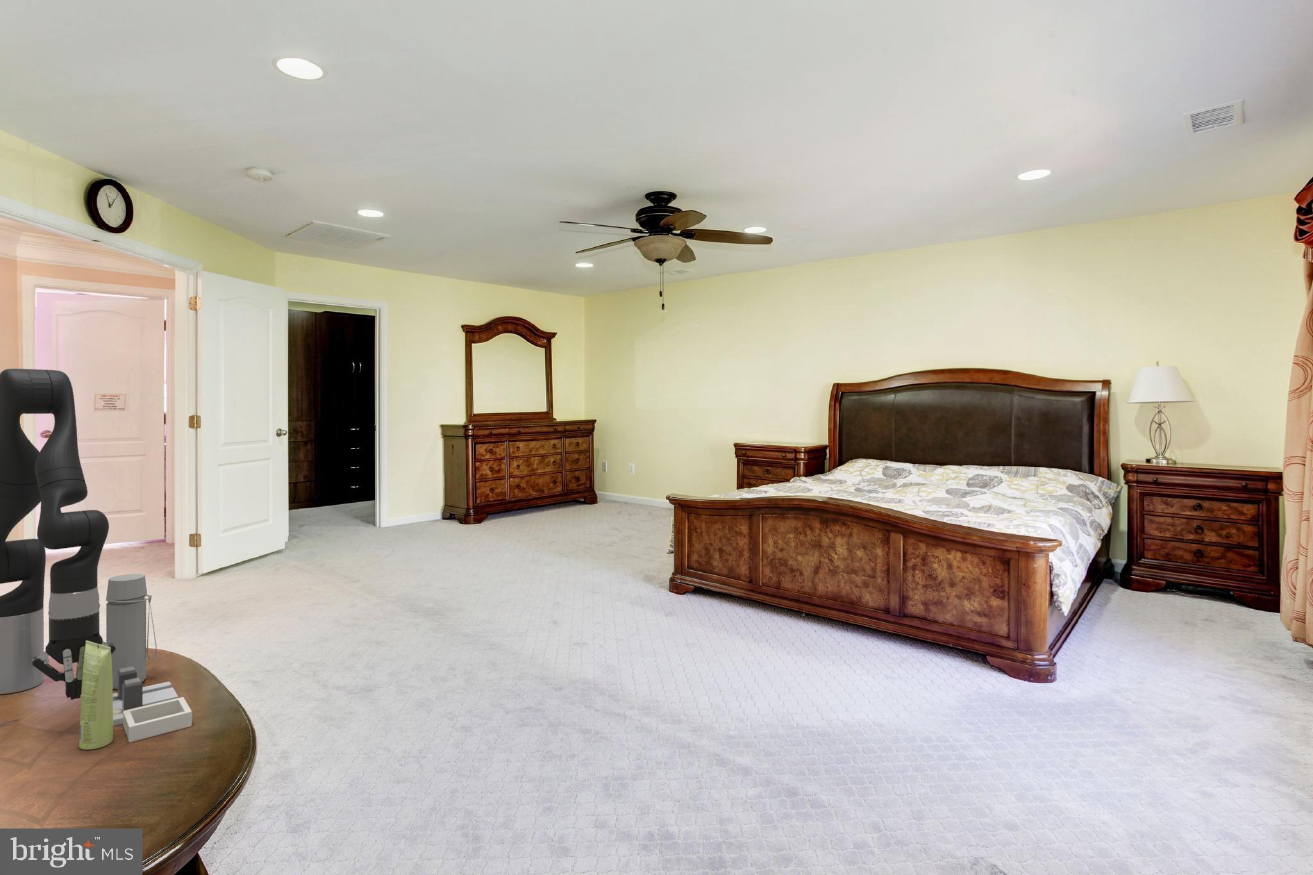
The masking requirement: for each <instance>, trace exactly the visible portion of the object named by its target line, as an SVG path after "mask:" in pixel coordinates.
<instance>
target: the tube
mask: <svg viewBox="0 0 1313 875" xmlns="http://www.w3.org/2000/svg"><path fill="white" fill-rule="evenodd" d="M113 690H114V689H113V683H112V658H111V647H107V646H103V645H100V644H96V643H93V642H90V641H86V646H85V653H84V664H83V677H82V693H81V697H80V713H79V714H80V717H79V739H78V740H79V744H78V746H79V748H80V749H81V750H86V751H87V750H96V749H100V748H103V747H106V746H107V745H109V744H111V743H112V742H113V740H114V726H113V694H114V692H113Z"/></svg>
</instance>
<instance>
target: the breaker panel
mask: <svg viewBox="0 0 1313 875" xmlns="http://www.w3.org/2000/svg"><path fill="white" fill-rule="evenodd" d="M176 698H180V696H179V695H178V694H177V692H176V690H175V689H174V686H173V685H172V683H171V682H170V681H166V682H165V681H164V682H161V683H156V684H152V685H151V684H150V685H148V686H143V706H146V705H151V704H155V703H159V702H164V701H168V700H172V699H176ZM123 711H124V710H123V707H122V698H121V699H119V697H118V694H117V692H115V693H114V692H113V727H114V726H118V725H119V726H120V725H123Z"/></svg>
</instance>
